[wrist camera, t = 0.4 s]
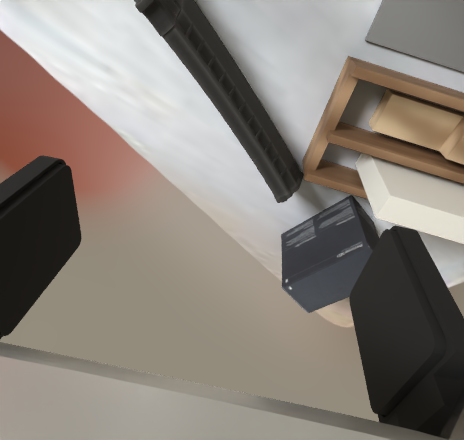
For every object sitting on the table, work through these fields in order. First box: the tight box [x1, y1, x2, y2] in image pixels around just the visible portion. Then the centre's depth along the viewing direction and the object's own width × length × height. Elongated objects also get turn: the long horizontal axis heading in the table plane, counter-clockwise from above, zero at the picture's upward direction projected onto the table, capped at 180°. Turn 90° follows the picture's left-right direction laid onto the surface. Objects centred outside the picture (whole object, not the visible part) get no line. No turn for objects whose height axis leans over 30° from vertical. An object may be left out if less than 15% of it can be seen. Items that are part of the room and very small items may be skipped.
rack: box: [303, 56, 464, 199], centre depth 41 cm, size 14×36×6 cm, turn 75°
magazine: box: [134, 0, 304, 203], centre depth 38 cm, size 17×3×30 cm
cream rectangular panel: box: [355, 152, 464, 244], centre depth 40 cm, size 3×22×13 cm, turn 75°
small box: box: [281, 195, 379, 313], centre depth 48 cm, size 13×7×12 cm, turn 131°
